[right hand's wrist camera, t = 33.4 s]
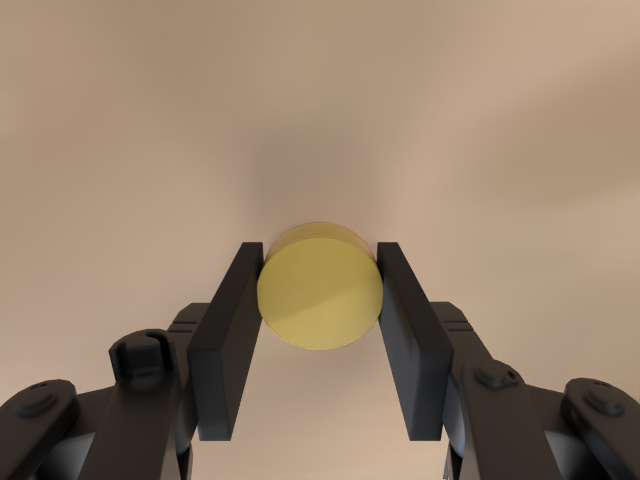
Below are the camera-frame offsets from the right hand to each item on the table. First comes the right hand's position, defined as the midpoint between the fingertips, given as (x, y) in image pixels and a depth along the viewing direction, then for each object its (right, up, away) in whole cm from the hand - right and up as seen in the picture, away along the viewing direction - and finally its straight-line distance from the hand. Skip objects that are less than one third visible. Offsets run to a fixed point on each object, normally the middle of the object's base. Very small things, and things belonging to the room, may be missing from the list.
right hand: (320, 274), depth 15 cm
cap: (0, -1, -1) cm, 1 cm away
